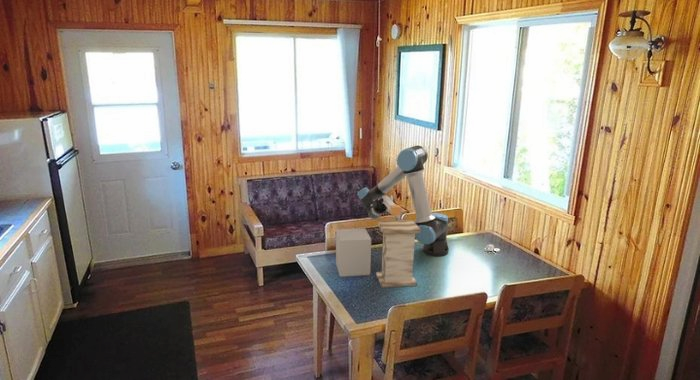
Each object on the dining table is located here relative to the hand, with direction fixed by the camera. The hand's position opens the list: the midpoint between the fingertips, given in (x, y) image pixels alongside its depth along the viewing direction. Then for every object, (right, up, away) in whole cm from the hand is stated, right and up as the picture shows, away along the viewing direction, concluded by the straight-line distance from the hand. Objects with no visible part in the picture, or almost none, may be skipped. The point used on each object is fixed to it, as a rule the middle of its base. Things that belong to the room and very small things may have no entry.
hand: (388, 198), depth 237 cm
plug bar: (+1, -5, -3) cm, 6 cm away
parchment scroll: (+3, -42, -6) cm, 42 cm away
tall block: (-19, -38, +5) cm, 43 cm away
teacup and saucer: (+65, -34, +30) cm, 79 cm away
